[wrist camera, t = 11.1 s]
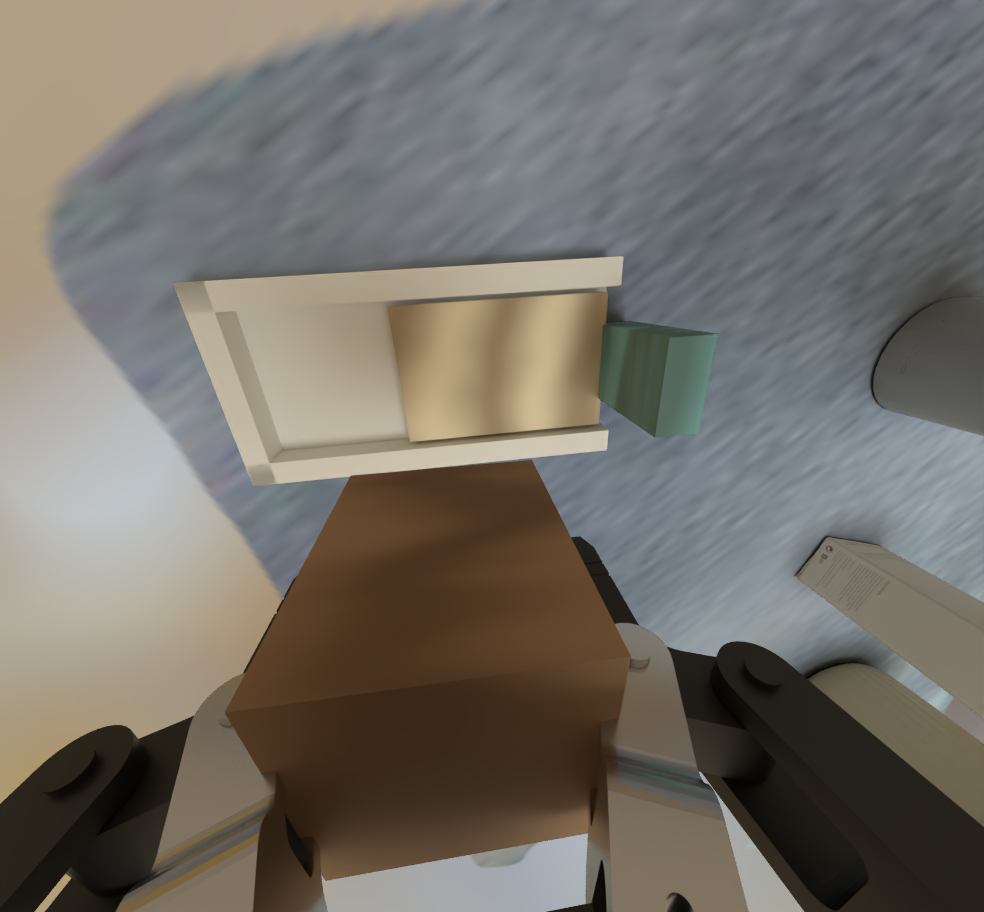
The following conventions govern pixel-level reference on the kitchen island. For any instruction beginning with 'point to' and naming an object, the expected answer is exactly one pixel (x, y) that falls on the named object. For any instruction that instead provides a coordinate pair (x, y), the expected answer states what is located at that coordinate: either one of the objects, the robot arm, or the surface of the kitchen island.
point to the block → (435, 673)
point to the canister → (911, 730)
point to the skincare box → (906, 613)
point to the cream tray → (356, 366)
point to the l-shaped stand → (544, 367)
